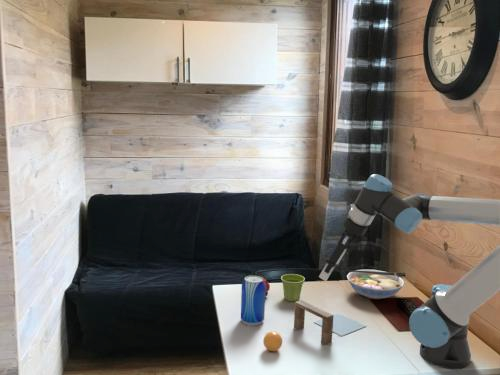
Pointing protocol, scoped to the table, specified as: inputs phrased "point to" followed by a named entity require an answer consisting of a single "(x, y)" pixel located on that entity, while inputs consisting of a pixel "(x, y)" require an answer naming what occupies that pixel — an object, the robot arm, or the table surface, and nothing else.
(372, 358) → the table surface
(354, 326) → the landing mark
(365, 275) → the ramen bowl
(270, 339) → the ball
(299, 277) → the plant pot
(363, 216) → the robot arm
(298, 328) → the bridge
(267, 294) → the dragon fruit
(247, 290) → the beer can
